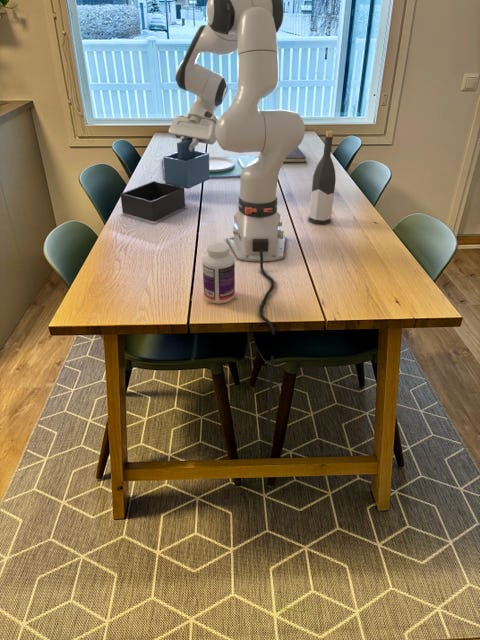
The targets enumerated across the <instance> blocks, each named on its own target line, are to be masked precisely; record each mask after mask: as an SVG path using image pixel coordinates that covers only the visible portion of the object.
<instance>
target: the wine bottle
mask: <svg viewBox="0 0 480 640" xmlns="http://www.w3.org/2000/svg"><path fill="white" fill-rule="evenodd" d="M333 134H334V132H333V131H332V130H327V131H326V133H325V136H324V146H323V155H322V156H321V158H320V160H319V161H318V163H317V165H316V167H315V169H314V172H313V175H312V184H311V185H312V186H311V194H310V205H309V214H308V221H309V223H312V224H314V225H326V224H330V223H331V219H332V212H333V204H334V195H335V189H336V187H335V186H336V181H337V179H336V178H337V177H336V169H335V165H334V161H333V159H332V155H331V154H332V147H333V146H332V145H333V138H334V135H333Z"/></svg>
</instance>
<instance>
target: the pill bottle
mask: <svg viewBox="0 0 480 640" xmlns="http://www.w3.org/2000/svg"><path fill="white" fill-rule="evenodd" d="M201 260H202V262H201V263H202V281H203V296H204V299H206V300H207V301H208V302H210V303H213V304H226V303H229V302H230V301H232V300H233V299H234V298H235V294H236V277H235V276H236V274H235V273H236V271H235V270H236V269H235V268H236V264H235V263H236V261H235V257H234V255H233V254H232V253H231V249H230V244H229V243H228V244H227V243H225V242H221V241H220V242H219V241H216V242H212V243H209V244H208V245H207V246H206V253H205V254H204V255H203V256H202V259H201Z"/></svg>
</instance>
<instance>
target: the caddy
mask: <svg viewBox="0 0 480 640" xmlns="http://www.w3.org/2000/svg"><path fill="white" fill-rule="evenodd" d="M192 140H193V139H188V140H185V141H182V142H180V141H179V142H177V143H176V148H177V149H176V152H174V153H171V154H168V155H165V156H162V162H163V161H164V167H163V174H164V173H165V178H164V183H165V184H169V185H173V186H178V187H182V188H184V189H187V190H189V189H191V188H193V187H196V186H198V185H200V184H202V183H204V182H206V181H209V180H210V179H211V178H210V170H209V157H210V153H209V152H204V151H199V150H196V146H195V147H194V148H193V150H192V152H191V151H188V150H187V149H186V148H187V146H188V145H190V144H191V143H192V142H193V141H192Z"/></svg>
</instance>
